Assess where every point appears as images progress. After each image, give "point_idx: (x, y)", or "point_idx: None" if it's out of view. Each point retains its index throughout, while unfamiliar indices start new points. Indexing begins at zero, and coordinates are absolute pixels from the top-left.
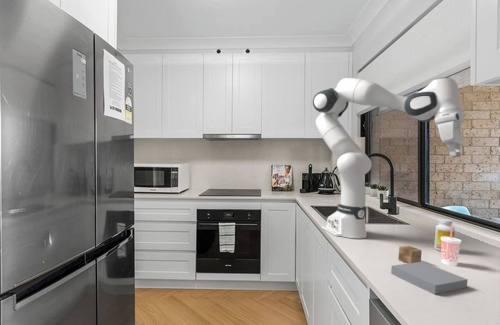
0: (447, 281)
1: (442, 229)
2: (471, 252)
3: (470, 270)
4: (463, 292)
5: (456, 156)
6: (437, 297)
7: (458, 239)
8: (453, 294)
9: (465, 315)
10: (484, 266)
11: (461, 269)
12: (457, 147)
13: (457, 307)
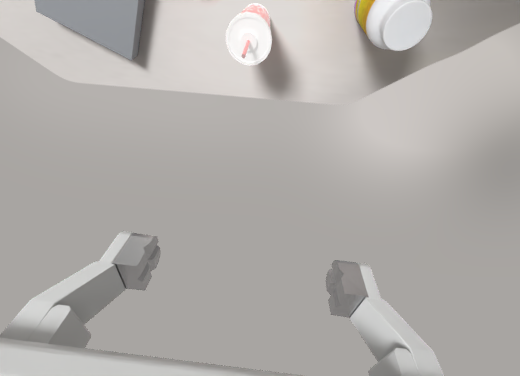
0: (80, 29)
1: (370, 11)
2: (397, 68)
3: None
4: None
5: (334, 265)
6: None
7: (259, 59)
8: None
9: (35, 51)
10: (292, 86)
11: None
12: (378, 364)
13: (46, 42)
